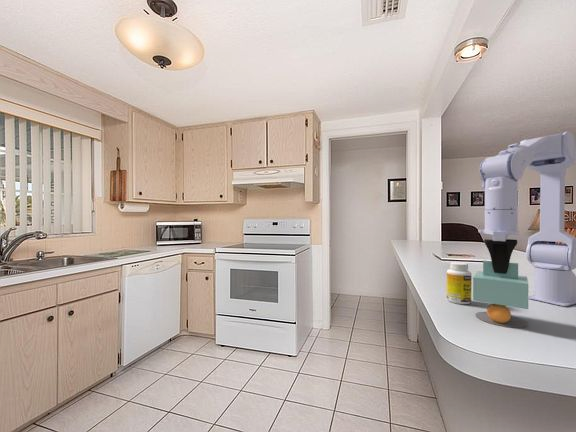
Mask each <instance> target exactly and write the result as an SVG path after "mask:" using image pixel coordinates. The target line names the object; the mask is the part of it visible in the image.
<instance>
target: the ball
mask: <svg viewBox="0 0 576 432" xmlns="http://www.w3.org/2000/svg"><path fill="white" fill-rule="evenodd" d="M486 312H487V314H488V316H489V318H490V319H491V320H493V321H494V322H497V323H506V322H508V321H509V320H510V318H511V316H512V312H511V310H510V308H508V306H504V305H498V304H492V303H490V305H489V306H488V307H487V310H486Z"/></svg>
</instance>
